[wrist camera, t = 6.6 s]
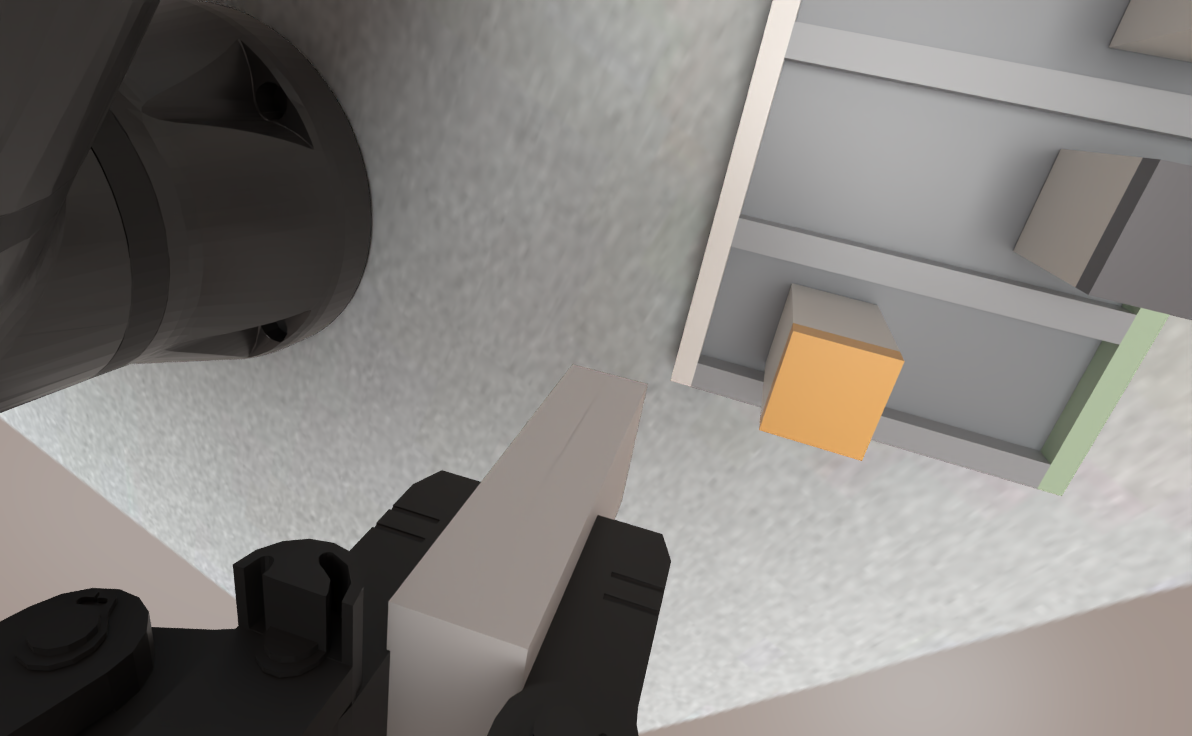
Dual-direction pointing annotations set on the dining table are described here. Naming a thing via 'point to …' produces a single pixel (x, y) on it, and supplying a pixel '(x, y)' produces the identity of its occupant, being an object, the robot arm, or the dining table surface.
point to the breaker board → (936, 215)
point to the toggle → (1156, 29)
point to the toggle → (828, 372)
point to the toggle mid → (1116, 229)
